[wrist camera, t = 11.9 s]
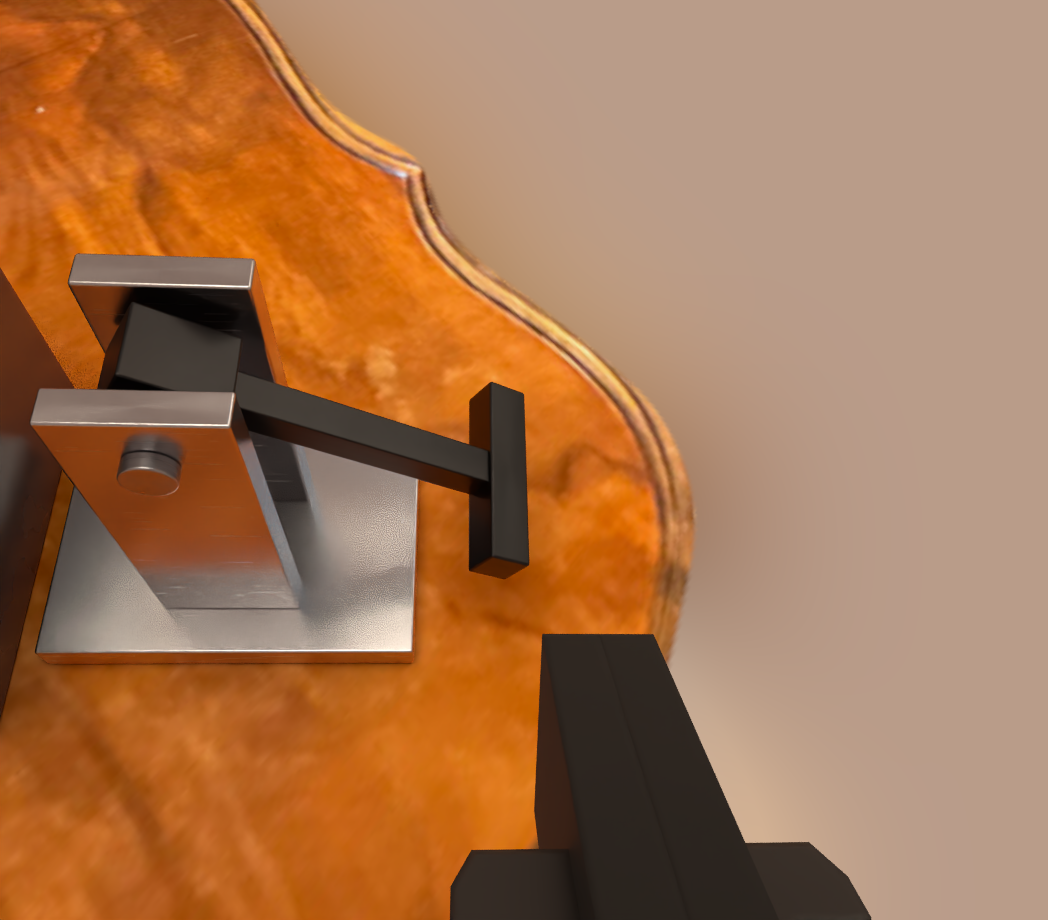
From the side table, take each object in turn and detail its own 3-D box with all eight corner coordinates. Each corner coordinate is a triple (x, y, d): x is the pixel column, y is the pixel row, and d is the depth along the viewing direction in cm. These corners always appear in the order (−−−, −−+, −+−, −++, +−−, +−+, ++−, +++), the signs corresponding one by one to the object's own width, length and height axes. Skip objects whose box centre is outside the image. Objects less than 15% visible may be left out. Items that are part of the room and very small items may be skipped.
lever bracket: (420, 457, 36) (409, 218, 25) (413, 663, 32) (397, 488, 21) (95, 453, 35) (-70, 201, 24) (47, 664, 31) (-178, 481, 20)
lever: (493, 418, 31) (535, 385, 30) (495, 586, 29) (541, 559, 27) (119, 291, 25) (145, 240, 24) (73, 488, 22) (98, 446, 21)
